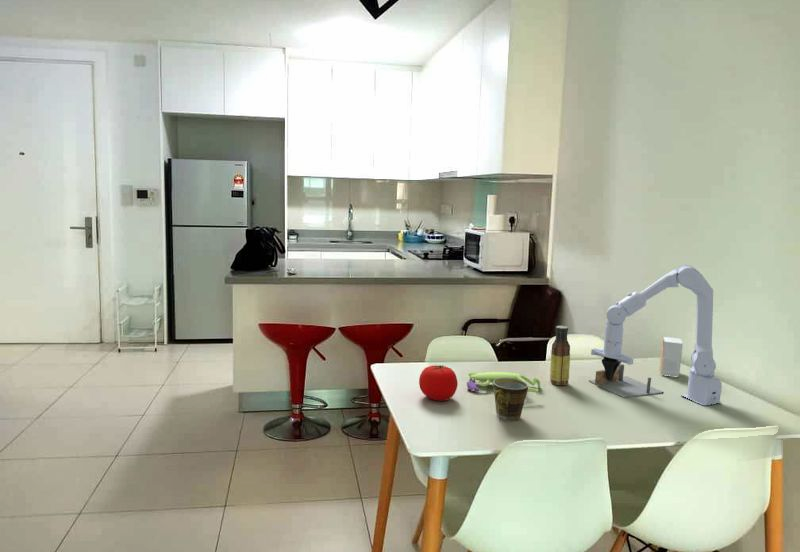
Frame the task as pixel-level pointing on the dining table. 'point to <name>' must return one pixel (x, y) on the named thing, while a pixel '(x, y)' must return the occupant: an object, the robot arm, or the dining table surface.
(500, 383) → the ceramic cup
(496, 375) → the figurine
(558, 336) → the sauce bottle
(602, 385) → the gate frame
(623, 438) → the dining table surface
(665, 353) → the small box
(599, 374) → the board
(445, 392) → the tomato
